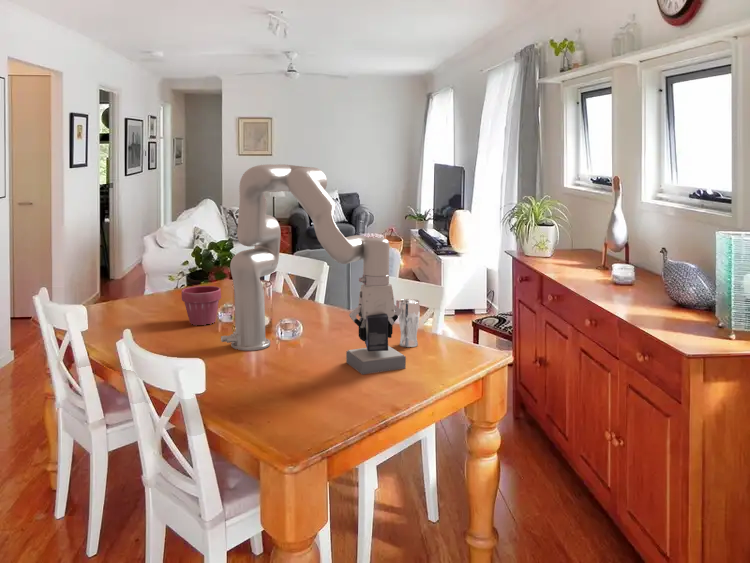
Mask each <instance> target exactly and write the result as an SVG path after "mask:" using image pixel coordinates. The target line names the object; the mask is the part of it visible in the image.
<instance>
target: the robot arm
mask: <svg viewBox="0 0 750 563" xmlns="http://www.w3.org/2000/svg"><path fill="white" fill-rule="evenodd" d="M327 186H328V179H327V176H326V175H325V173H324V172H323V171H322V170H321V169H319V168H318V167H312V166H302V165H301V166H300V165H292V164H281V163H280V164H278V163H277V164H258V165H255V166H254V165H253V166H252V167H250V168H249V169H247V170H245V172H243V174H242V176H241V178H240V180H239V186H238V187H239V188H238V189H239V190H238V191H239V206H238V214H237V215H238V217H237V230H236V232H237V233H236V234H237V235H236V236H237V239H238V240H237V241H238V242H239V243H240V244H241V245H242V246H244V247H254V248H249V249H245V250H242V251H239V252H237V253H236V254H235V255H234V256H232V259H231V261H230V264H229V265H230V266H229V268H230V274H231V277H232V278H231V279H232V282H233V294H234V317H235V318H234V322H235V323H234V325H235V330H234V331H232V333H231V334H230V335H222V336H220V342H222V343H224V342H225V343H228V344H229V343H230V345H231V348H233V349H235V350H237V349H238V351H250V352H251V351H258V350H264V349H266V348H268V347H270V346H271V340H270V339H269V338H266V315H265V314H266V312H265V311H266V310H265V309H266V308H265V307H266V306H265V305H266V304H265V291H264V286H263V284H262V282H261V277H262V278H263V277H265V276H268V275H271V274H273V273H274V272H275V271H276V269H277V267H278V264H279V259H280V249H281V248H280V247H281V237H282V236H281V234H282V233H281V226H280V223H279V221H278V220H277V218H275V216H273V215H271V214H267V204H268V202H267V199H266V196H265V194H266V193H279V192H280V193H281V192H288V193H289V192H290V193H291V194H292V195H293V197H294V199H296V200H297V203H299V205H300V206H301V208H303V210H304V211H305V213H307V214H308V216H309V217H310V219H311V220H312V222H313V227H314V231H315V235H316V238H317V241H318V243H320V246H321V247H322V248H323V249H324V251H325V252H326V253H327V254H328V255H329V257H330V258H331V259H332V260H333V261H335V262H337V263H338V264H340V265H347V264H351V263H354V262H359V261H363V263H362V265H363V266H362V268H363V271H362V272H363V273H362V277H359V278H358V281H359V283H362V284H361V285H360V290H359V297H358V305H357V307H356V308H354V309H353V310H352V311H351V312H350V313H349V315H348V316H349V317H350V318H351V320H352V322H353V323H354V324H355V325H357V326H358V338H359V339H360V340H361V341H362V342H365V341H366V328H365V325H366V320H367V316H371V315H377V314H387V315H388V339H391V338H392V335H393V328H394V326H393V325H394V324H395V322H396V320H398V319H399V315H400V313H401V311H402V310H401V309H400V308H399V306H396V305H395V298H394V291H393V290H394V289H393V286H392V284H390V240H388V239H386V238H384V237H383V238H382V237H368V236H364V235H359V234H357V235H356V234H355V235H350V236H345V235H344V234H343V233H342V232H341V231H340V229H339V227H338V225H337V224H336V222H335V220H334V219H335V218H334V213H335V210H336V208H337V205H336V202H335V200H334V199H333V198H332V197H331V195H330V194H329V193H328V192H327V191H326V188H327ZM357 315H358V317H359V319H358V317H357Z"/></svg>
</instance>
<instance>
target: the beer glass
mask: <svg viewBox="0 0 750 563" xmlns="http://www.w3.org/2000/svg"><path fill="white" fill-rule="evenodd" d="M398 308H400V309H401V310H402V311H401V313H400V315H399V316H398V322H399V328H400V340H399V346H400V347H402V348H406V347H407V348H408V349H409V348H410V347H412V348H416V347H418V346H419V343H418V336H417V335H418V329H419V325H420V315H421V312H420V310H421V309H420V300H418V299H415V298H403V299H400V300H399V302H398ZM410 349H411V348H410Z"/></svg>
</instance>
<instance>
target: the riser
mask: <svg viewBox="0 0 750 563" xmlns="http://www.w3.org/2000/svg"><path fill="white" fill-rule="evenodd" d="M345 353H346V358H345V359H346V360H345V361H346V362H345V363H347V365H349V366H351V368H352V369H354V370H356V371H357V372H358V373H360V374H361V375H368V374H375V373H381V372H383V373H384V372H390V371H395V370H403V369H406V362H407V361H406V360H407V358H406V356H405V355H404V354H402V353H401V352H399V350H398V351H397V349H396V348H395V349H394V348H393V347H391V346H390V345H388V351H368V350H367V347H361V348H355V349H347V351H346V352H345Z"/></svg>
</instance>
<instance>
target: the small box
mask: <svg viewBox="0 0 750 563" xmlns="http://www.w3.org/2000/svg"><path fill="white" fill-rule="evenodd" d="M365 328H366V341H364V343H365V346H366V347H365V348H367V350H368V351H388V346H389V338H388V315H387V314H377V315H371V316H367V320H366V325H365Z"/></svg>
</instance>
